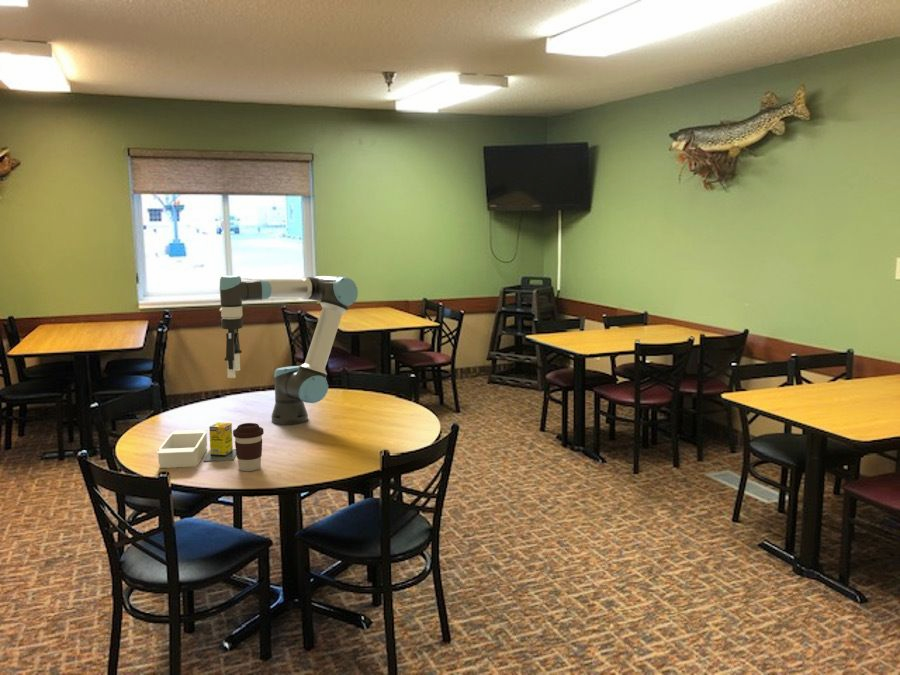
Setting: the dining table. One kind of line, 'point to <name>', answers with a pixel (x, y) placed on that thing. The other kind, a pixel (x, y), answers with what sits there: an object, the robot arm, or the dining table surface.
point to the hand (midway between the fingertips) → (234, 374)
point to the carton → (183, 449)
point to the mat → (217, 458)
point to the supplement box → (221, 439)
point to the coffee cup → (248, 446)
